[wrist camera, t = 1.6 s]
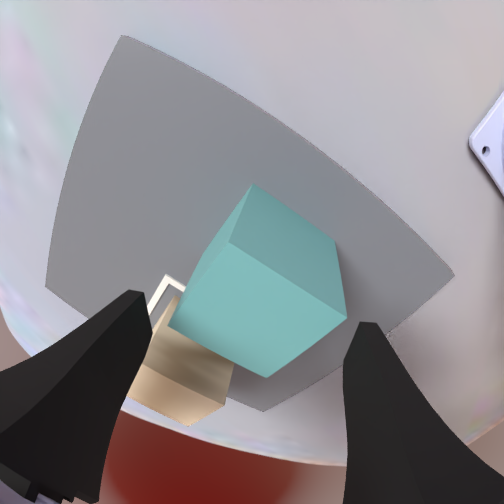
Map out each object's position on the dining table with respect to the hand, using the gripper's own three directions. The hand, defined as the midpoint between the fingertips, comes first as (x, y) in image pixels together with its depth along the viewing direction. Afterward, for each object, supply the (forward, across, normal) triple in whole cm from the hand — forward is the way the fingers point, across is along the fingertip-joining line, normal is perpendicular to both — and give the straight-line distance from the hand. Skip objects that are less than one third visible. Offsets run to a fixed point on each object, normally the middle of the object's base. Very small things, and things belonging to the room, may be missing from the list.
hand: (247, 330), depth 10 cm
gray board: (+6, +3, +3) cm, 7 cm away
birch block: (+5, +4, +7) cm, 10 cm away
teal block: (+5, 0, 0) cm, 5 cm away
